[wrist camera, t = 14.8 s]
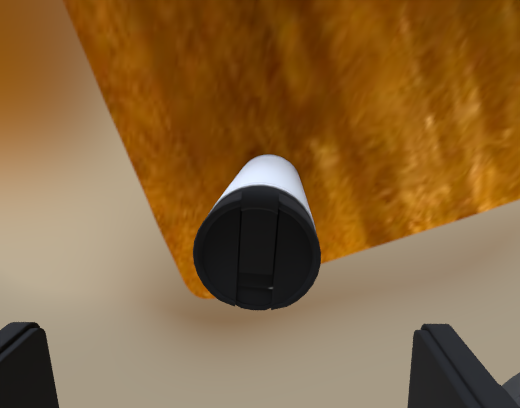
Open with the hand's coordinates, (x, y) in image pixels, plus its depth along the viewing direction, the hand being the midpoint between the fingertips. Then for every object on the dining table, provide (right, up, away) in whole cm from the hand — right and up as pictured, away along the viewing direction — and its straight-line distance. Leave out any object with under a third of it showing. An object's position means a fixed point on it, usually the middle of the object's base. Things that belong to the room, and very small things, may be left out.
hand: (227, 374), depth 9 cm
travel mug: (+2, +6, +27) cm, 28 cm away
